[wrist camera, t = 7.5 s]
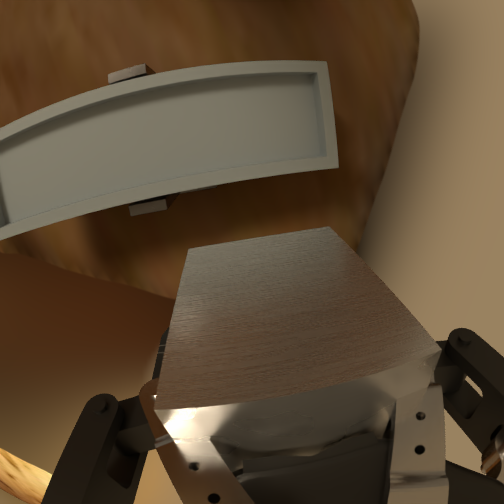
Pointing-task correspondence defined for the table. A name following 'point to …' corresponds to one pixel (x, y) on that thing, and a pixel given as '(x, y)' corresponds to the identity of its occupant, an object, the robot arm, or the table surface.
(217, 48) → the table surface
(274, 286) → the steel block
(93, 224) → the table surface
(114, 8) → the table surface
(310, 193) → the table surface
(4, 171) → the beam
